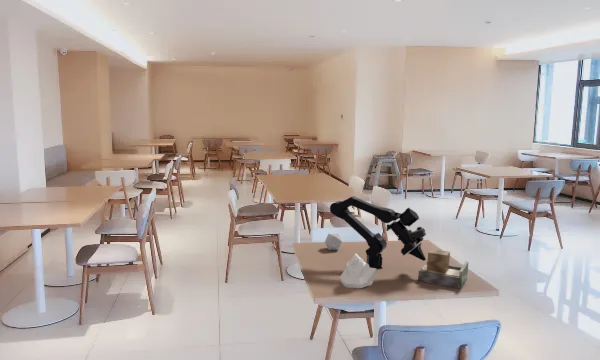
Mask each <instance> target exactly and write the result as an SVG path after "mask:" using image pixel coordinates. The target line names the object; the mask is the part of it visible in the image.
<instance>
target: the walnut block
mask: <svg viewBox="0 0 600 360" xmlns="http://www.w3.org/2000/svg"><path fill="white" fill-rule="evenodd" d="M450 257H451V251H448V250H443V249H435V248H431V249H430V250H429V251H428V252H427V261H426V265H427V270H429V271H435V272H440V273H446V272H447V271H448V269H449V265H450Z"/></svg>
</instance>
